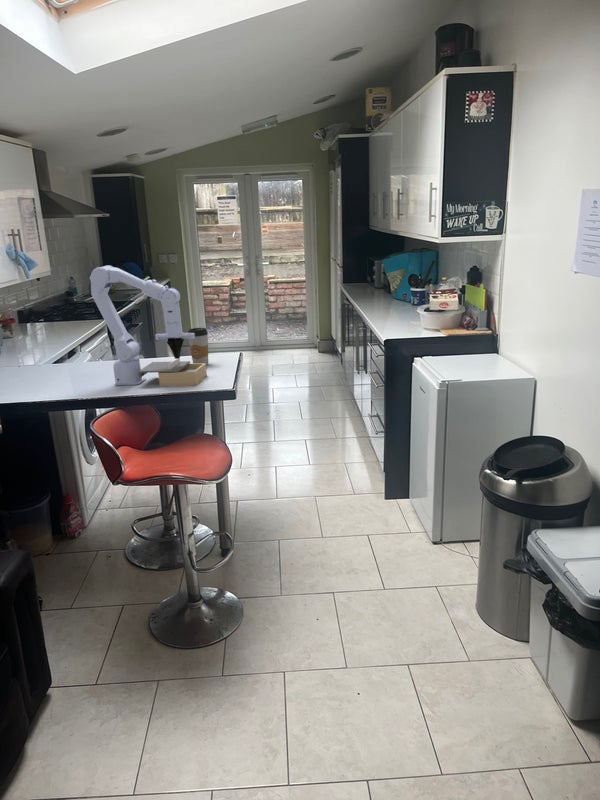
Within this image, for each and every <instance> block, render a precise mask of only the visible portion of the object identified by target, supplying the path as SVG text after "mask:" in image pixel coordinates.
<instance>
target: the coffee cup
mask: <svg viewBox="0 0 600 800" xmlns="http://www.w3.org/2000/svg"><path fill="white" fill-rule="evenodd" d="M187 331H188V332H187V333H194V334H195V338H194V339H188V344H189V349H190V354H191V359H192V364H195V363H206V366H207V365H209V342H208V340H209V339H208V331H207V328H206V327H194V328H193V327H192V328H189V329H187Z"/></svg>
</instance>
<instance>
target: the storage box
mask: <svg viewBox="0 0 600 800" xmlns="http://www.w3.org/2000/svg"><path fill="white" fill-rule="evenodd" d="M207 373H208V372H207V365H206V363H195V364H193V363H189V364H188V365H187V366H185V367H184V368H183V369H181V370H180V371H179V372H157V374H158V383H159V387H178V386H179V387H180V386H182V387H183V386H184V387H187V386H191V387H192V386H198V384H200V383H201V382H202V381H203V380H204V379H205V378H207V376H208V374H207Z"/></svg>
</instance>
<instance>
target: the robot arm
mask: <svg viewBox="0 0 600 800" xmlns="http://www.w3.org/2000/svg"><path fill="white" fill-rule="evenodd" d="M89 280H90V294H91V297H92V298H93V301H94V303H95V305H96V307H97V308H98V311H99V312H100V314H101V316H102V318H103V319H104V322H105V323H106V326H107V327H108V330H109V332H110V333H111V336H112V338H113V340H114V341H113V346H114V349H115V353H116V354H115V355H116V357H117V358H118V359H116V360H114V363H113V374H114V382H115V383H114V386H121V385H122V386H126V385H129V386H132V385H133V386H136V385H140V384H141V383H143V382H144V381H146V380H147V378H146V377H143V376H142V377H141V378H139V373H138V371H139V370H141V369H142V368H141V362H140V356H139V354H140V353H141V345H140V344H139V342H138V341H137V340H135V338H134V337H133V335H131V333H129V332H128V331H127V329H126V327H125V324H124V323H123V321H122V320H121V317H120V315H119V313H118V312H117V309H116V308H115V305H114V304H113V302H112V300H111V298H110V295H109V291H110V289H111V286H112V285H113V284H114V283H119V282H120V283H123V284H126V285H128V286H132V287H135V288H137V289H139V290H141V291H142V293H143V295H145V296H147V297H150V298H152V299H154V300H157V301H158V302H161V303H162V305H163V309H164V310H163V312H164V320H165V321H164V322H165V330H166V332H165V333H156V334H155V335H154V337H155V341H158V340H167V341H166V343H167V344H166V345H168V346H169V348H170V349H171V352H172V354H173V357H174V359H179V358H181V351H182V346H183V344H184V340H189V339H194V338H195V334H194V333H188V332H183V326H182V325H183V324H182V317H181V308H180V300H181V294H180V291H178V289H176V288H175V287H170V288H169V286H168V285H167V284H166V285H163V284H161V283H158V282H157V280H156V279H147V280H144V279H141V278H139V277H138V276H135V275H133V274H131V273H129V272H127V271H125V270H124V269H121V268H118V267H114V266H112V265H107V264H106V265H104V266H97V267H95V268H94V269H93V270H92V272H91V274H90V276H89Z"/></svg>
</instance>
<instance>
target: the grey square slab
mask: <svg viewBox="0 0 600 800" xmlns="http://www.w3.org/2000/svg"><path fill="white" fill-rule="evenodd" d="M180 358H181V357H180ZM180 358H179V359H175V358H174V359H173V360H172V361H152V362H151V363H149V364H147V365H146V366H144V367H142V368H141V370H139V371H138V373H139V378H141V377H142V378H143V377H144V376H145V375H147V374H148V373H149V374H150V373H159V372H179V371H180V370H181V369H183V368H184V367H185V366H187V365H188V364H191V361H190V360H184V361H181V360H180Z"/></svg>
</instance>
